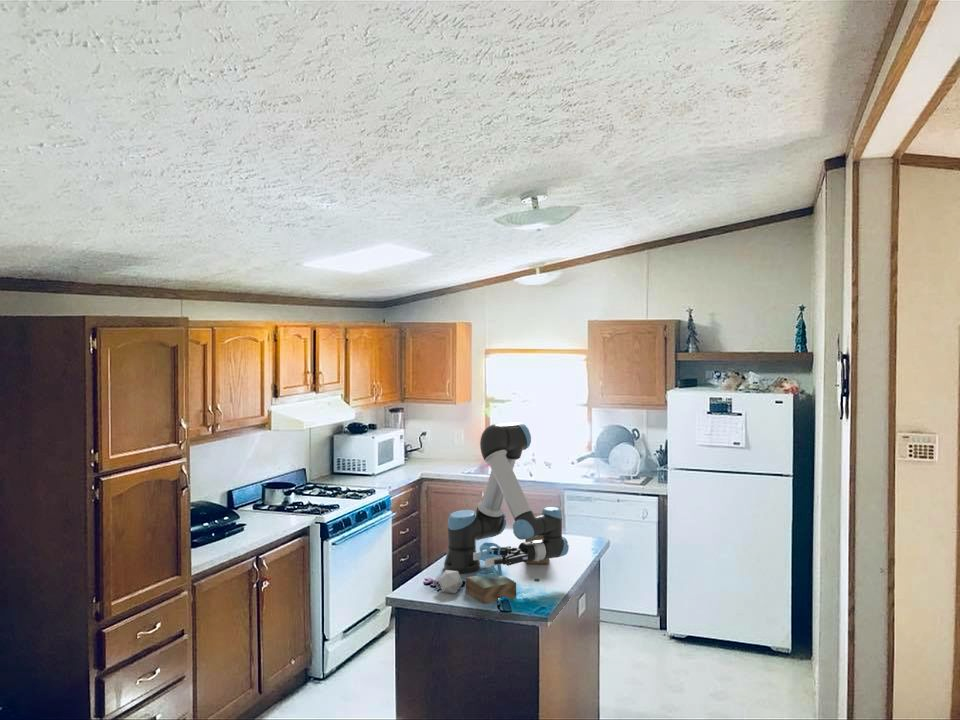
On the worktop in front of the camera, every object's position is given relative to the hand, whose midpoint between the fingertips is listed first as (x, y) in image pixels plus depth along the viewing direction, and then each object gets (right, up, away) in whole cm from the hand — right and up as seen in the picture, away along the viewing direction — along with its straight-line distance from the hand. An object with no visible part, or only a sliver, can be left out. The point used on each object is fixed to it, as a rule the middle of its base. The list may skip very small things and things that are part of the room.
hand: (479, 559), depth 285 cm
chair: (+4, -7, +2) cm, 8 cm away
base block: (+4, -14, +3) cm, 15 cm away
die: (-11, -14, +7) cm, 19 cm away
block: (+25, -13, +46) cm, 54 cm away
